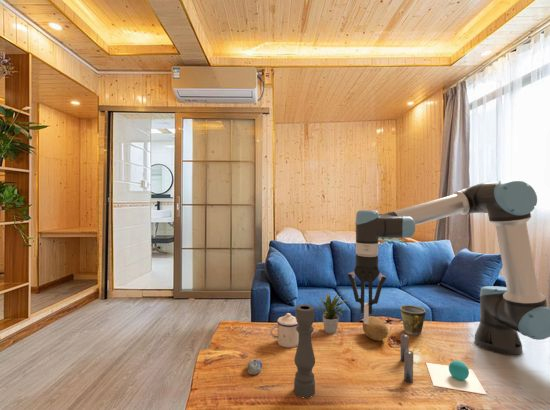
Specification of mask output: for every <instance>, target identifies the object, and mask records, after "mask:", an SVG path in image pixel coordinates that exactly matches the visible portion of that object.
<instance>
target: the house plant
mask: <svg viewBox="0 0 550 410" xmlns="http://www.w3.org/2000/svg"><path fill="white" fill-rule="evenodd" d="M330 295H331V294H330V293H326V294H325V300H324V298H321V297H320V296H319V299H320V301H319V302H321V304H322V305H323V306H324V307H323V306H320V305H317V306H316V307H317V308H319V309H321V310H323V313H322V322H323V329H324V332H325V333H326V334H336V333H337V332H338V331H337V330H338V325H339V319H340V317H339V315H337V314H340V315H341V316H343V313H342V312H343V311H345V309H346V307H341V306H340V305H345V304H348V302H345V301H347V299H343V300H341V301H339V300H340V298H341V297H342V295H340V296H338V294H336V295H335V296H334V298H333V299H331V296H330ZM341 311H342V312H341Z"/></svg>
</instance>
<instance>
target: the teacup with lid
mask: <svg viewBox="0 0 550 410" xmlns="http://www.w3.org/2000/svg"><path fill="white" fill-rule="evenodd" d="M276 323H277V325H273V326H271V327H270V330H269V333H270V336H271V337H272V338H273V339H277V344H278V345H279V346H280V347H283V348H288V349H289V348H290V349H291V348H295V347H297V346H298V335H299V333H298V332H297V330H296V327H297V326H298V323H297V321H296V316H294V315H292V314H291V313H289V312H287V313H285V315H284V316H280V317H278V318H277V321H276ZM274 329H277V335H274V334H273V330H274Z"/></svg>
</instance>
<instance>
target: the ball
mask: <svg viewBox="0 0 550 410" xmlns="http://www.w3.org/2000/svg"><path fill="white" fill-rule="evenodd" d="M448 366H449V372H450V374H451V375H452V376H453V377H454V378H455V379H458V380H465V379H466V378H467V377H468V375H469V370H468V369H469V368H468V366H467V365H466V363H464V362H463V361H460V360H453V361H451V362H450V363H449V365H448Z"/></svg>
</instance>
